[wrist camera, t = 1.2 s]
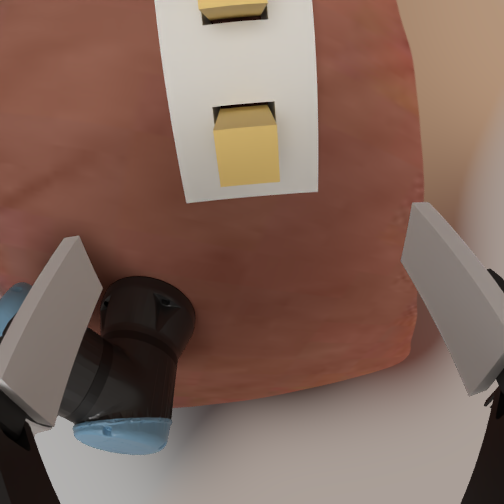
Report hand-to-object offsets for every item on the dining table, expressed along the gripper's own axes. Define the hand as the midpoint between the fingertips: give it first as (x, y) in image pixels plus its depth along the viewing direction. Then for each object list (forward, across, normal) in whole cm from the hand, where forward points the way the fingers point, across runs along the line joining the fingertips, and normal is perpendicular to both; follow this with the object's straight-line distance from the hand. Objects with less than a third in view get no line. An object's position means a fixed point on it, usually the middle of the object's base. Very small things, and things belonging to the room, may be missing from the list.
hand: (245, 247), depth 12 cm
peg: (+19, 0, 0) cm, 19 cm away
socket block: (+25, 0, -6) cm, 25 cm away
